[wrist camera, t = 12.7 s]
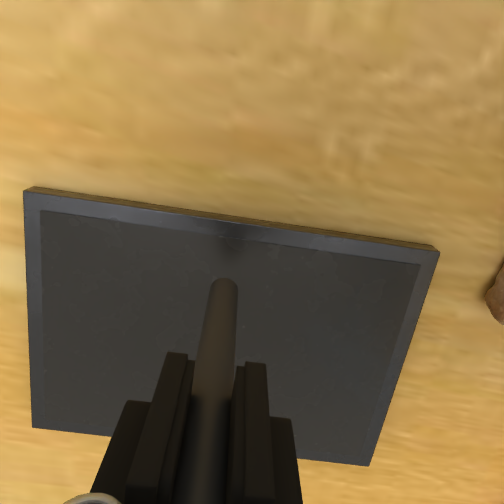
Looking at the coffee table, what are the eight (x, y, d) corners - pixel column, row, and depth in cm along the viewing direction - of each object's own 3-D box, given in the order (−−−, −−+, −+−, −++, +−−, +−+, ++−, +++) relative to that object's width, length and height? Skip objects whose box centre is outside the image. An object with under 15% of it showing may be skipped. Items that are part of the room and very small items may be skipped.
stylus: (240, 275, 18) (224, 657, 6) (236, 300, 18) (213, 706, 6) (212, 271, 18) (135, 650, 6) (209, 296, 18) (131, 700, 6)
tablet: (432, 245, 21) (441, 252, 20) (364, 453, 26) (369, 468, 25) (32, 186, 20) (21, 190, 19) (39, 415, 25) (30, 429, 24)
